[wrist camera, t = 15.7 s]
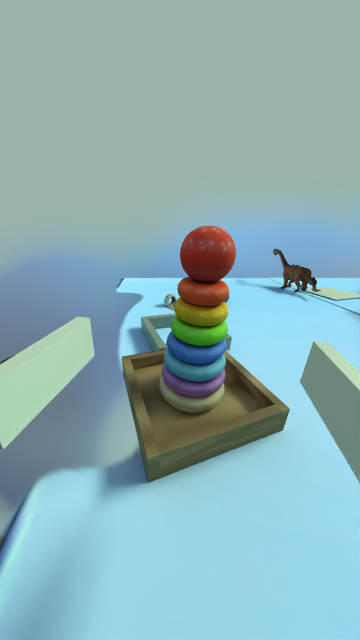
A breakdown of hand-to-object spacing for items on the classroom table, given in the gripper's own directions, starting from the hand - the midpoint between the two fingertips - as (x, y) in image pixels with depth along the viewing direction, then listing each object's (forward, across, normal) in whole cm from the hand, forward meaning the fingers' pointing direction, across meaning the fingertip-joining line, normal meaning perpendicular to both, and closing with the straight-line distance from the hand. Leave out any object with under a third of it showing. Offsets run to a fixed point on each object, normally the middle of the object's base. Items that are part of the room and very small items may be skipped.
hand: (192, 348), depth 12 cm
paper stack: (+82, +51, -14) cm, 97 cm away
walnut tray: (+10, 0, -13) cm, 16 cm away
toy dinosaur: (+78, +34, -13) cm, 86 cm away
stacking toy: (+10, 0, -12) cm, 15 cm away
